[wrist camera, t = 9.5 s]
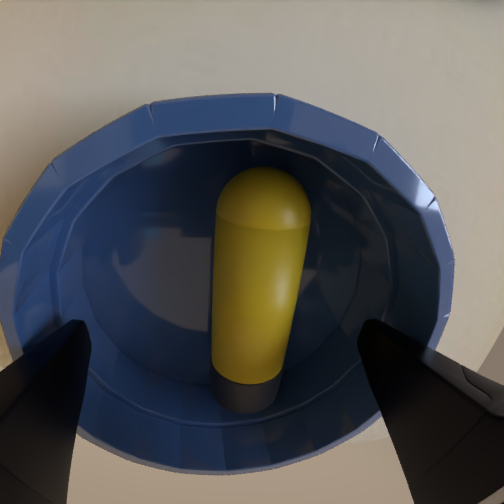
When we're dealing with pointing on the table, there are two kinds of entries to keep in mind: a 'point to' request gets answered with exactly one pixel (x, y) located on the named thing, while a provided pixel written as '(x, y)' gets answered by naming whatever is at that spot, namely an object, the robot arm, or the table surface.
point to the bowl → (201, 275)
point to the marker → (255, 284)
